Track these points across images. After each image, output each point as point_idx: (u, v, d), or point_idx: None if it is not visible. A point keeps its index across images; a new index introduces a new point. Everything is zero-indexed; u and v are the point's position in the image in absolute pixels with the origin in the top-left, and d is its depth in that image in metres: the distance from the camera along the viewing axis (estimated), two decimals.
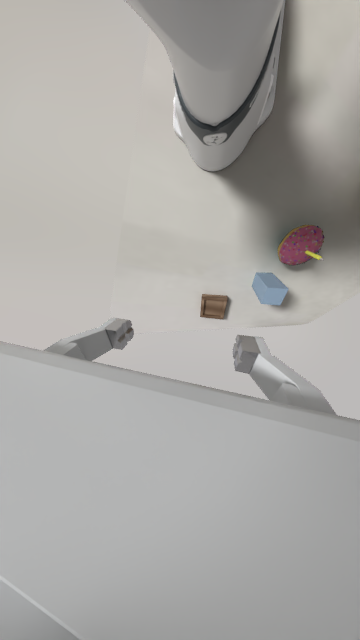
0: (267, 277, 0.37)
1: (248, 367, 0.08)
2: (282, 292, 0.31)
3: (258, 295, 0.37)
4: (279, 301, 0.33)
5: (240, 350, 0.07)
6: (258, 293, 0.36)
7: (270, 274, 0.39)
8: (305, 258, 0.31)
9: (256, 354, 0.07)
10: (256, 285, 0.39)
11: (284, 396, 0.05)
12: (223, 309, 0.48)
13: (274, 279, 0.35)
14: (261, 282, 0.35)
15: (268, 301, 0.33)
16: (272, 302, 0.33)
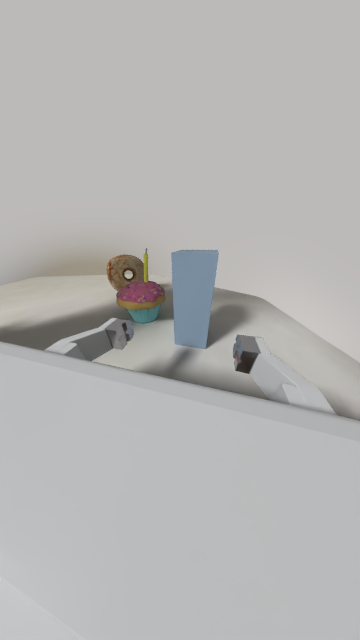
0: None
1: (248, 367, 0.08)
2: (187, 250, 0.15)
3: (207, 291, 0.14)
4: (208, 250, 0.15)
5: (240, 350, 0.07)
6: (202, 292, 0.14)
7: None
8: (156, 284, 0.23)
9: (256, 354, 0.07)
10: (195, 324, 0.16)
11: (284, 396, 0.05)
12: None
13: None
14: (177, 300, 0.15)
15: (209, 252, 0.13)
16: (211, 251, 0.14)
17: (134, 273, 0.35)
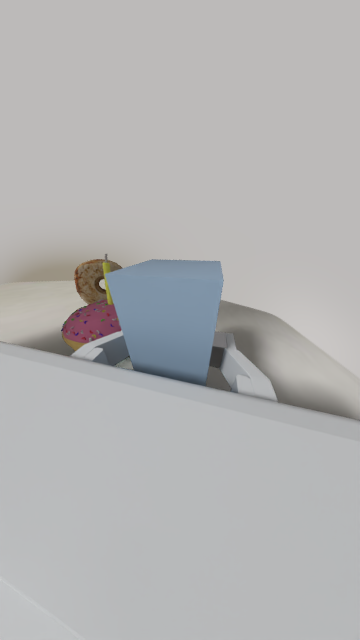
0: None
1: (218, 362, 0.08)
2: (160, 261, 0.08)
3: (197, 356, 0.06)
4: (201, 262, 0.08)
5: None
6: (187, 356, 0.06)
7: None
8: None
9: (223, 349, 0.07)
10: None
11: (236, 386, 0.05)
12: None
13: None
14: (139, 361, 0.08)
15: (201, 270, 0.06)
16: (206, 266, 0.06)
17: None
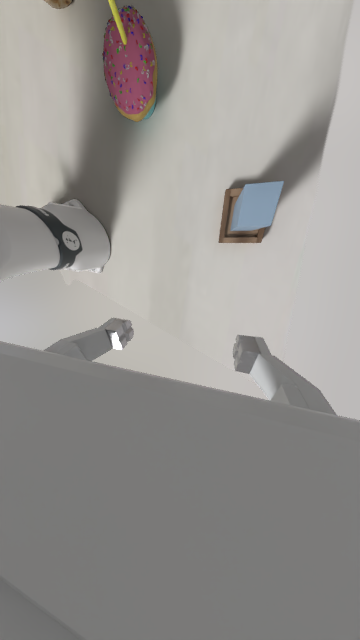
0: (234, 216, 0.24)
1: (248, 367, 0.08)
2: (251, 193, 0.17)
3: (259, 227, 0.21)
4: (272, 188, 0.16)
5: (240, 350, 0.07)
6: (255, 227, 0.22)
7: (234, 208, 0.26)
8: (136, 28, 0.17)
9: (256, 354, 0.07)
10: (247, 229, 0.25)
11: (284, 396, 0.05)
12: None
13: (237, 205, 0.23)
14: (236, 228, 0.23)
15: (268, 212, 0.18)
16: (272, 202, 0.17)
17: None
